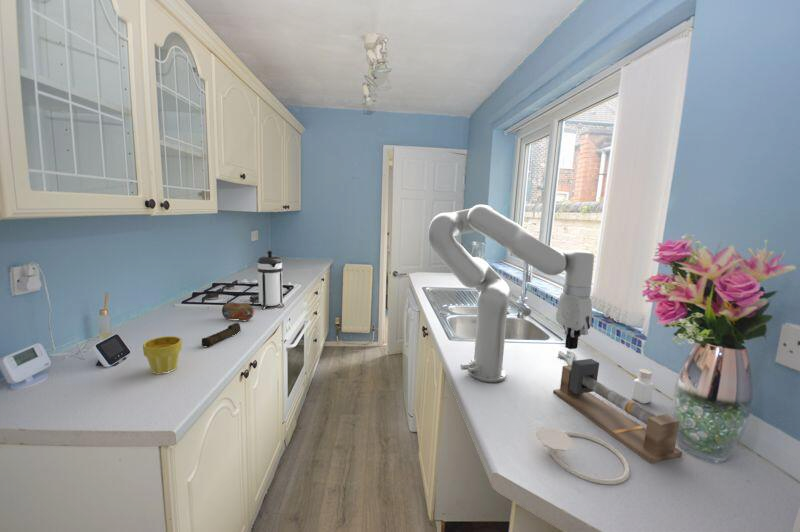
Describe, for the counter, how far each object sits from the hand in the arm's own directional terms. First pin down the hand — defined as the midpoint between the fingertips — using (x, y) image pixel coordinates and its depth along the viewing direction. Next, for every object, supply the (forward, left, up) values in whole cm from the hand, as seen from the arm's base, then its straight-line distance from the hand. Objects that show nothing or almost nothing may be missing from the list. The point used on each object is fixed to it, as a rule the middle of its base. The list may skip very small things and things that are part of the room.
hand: (571, 347), depth 112 cm
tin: (-107, +91, -15) cm, 142 cm away
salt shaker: (+19, -11, -14) cm, 26 cm away
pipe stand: (0, -17, -14) cm, 22 cm away
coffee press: (-95, +114, -14) cm, 149 cm away
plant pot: (-123, +41, -14) cm, 131 cm away
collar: (0, -7, -11) cm, 13 cm away
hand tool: (-110, +67, -15) cm, 130 cm away
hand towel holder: (-20, -27, -15) cm, 36 cm away
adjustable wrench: (+15, +14, -15) cm, 25 cm away
